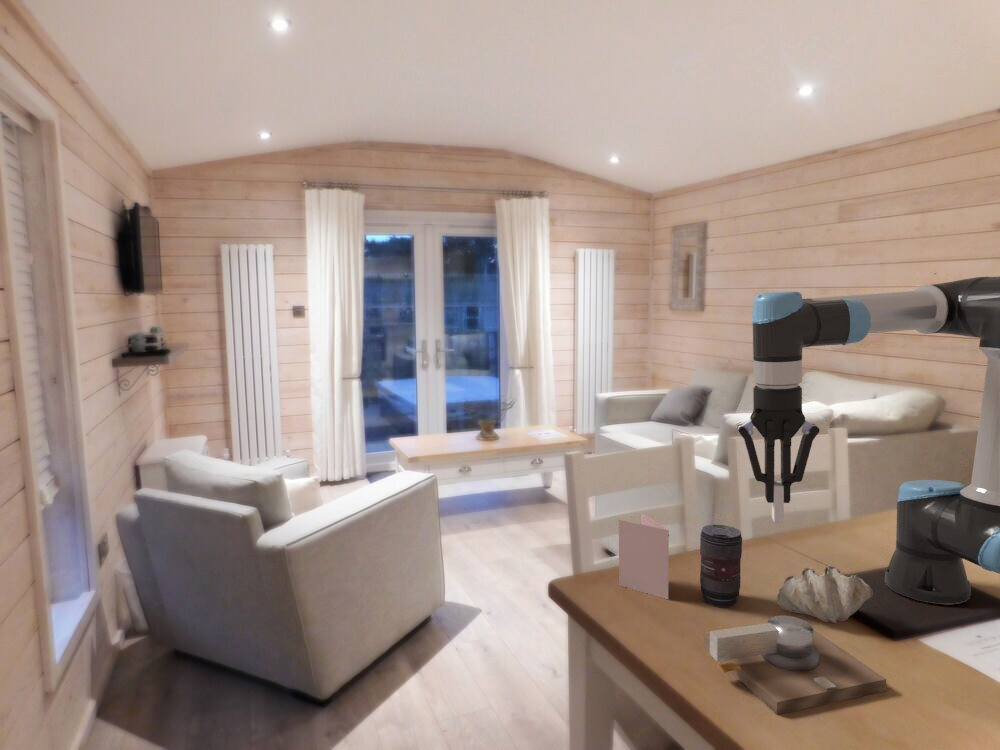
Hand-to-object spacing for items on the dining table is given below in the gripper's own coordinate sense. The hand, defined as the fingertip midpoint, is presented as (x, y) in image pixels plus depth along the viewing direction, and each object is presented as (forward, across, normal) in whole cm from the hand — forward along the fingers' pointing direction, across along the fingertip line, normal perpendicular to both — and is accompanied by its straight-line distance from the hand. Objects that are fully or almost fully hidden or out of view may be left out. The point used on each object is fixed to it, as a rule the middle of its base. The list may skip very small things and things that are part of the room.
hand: (777, 520), depth 114 cm
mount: (+24, 0, +6) cm, 25 cm away
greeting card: (+24, +24, -20) cm, 40 cm away
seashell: (+25, -10, -15) cm, 31 cm away
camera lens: (+24, +8, -18) cm, 32 cm away
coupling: (+20, +4, +7) cm, 22 cm away
